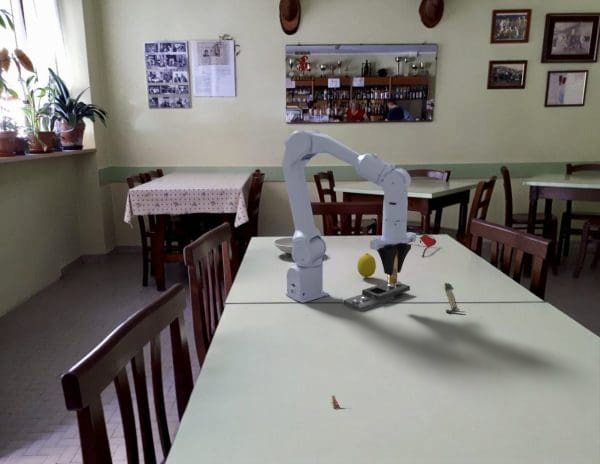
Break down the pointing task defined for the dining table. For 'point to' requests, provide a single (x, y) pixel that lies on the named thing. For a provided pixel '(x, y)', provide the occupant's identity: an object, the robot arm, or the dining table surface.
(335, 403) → the matchbox
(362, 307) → the chain joint
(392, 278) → the copper pin
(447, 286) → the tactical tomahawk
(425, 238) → the glasses
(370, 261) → the lemon
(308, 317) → the dining table surface
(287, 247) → the dish
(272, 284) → the dining table surface
